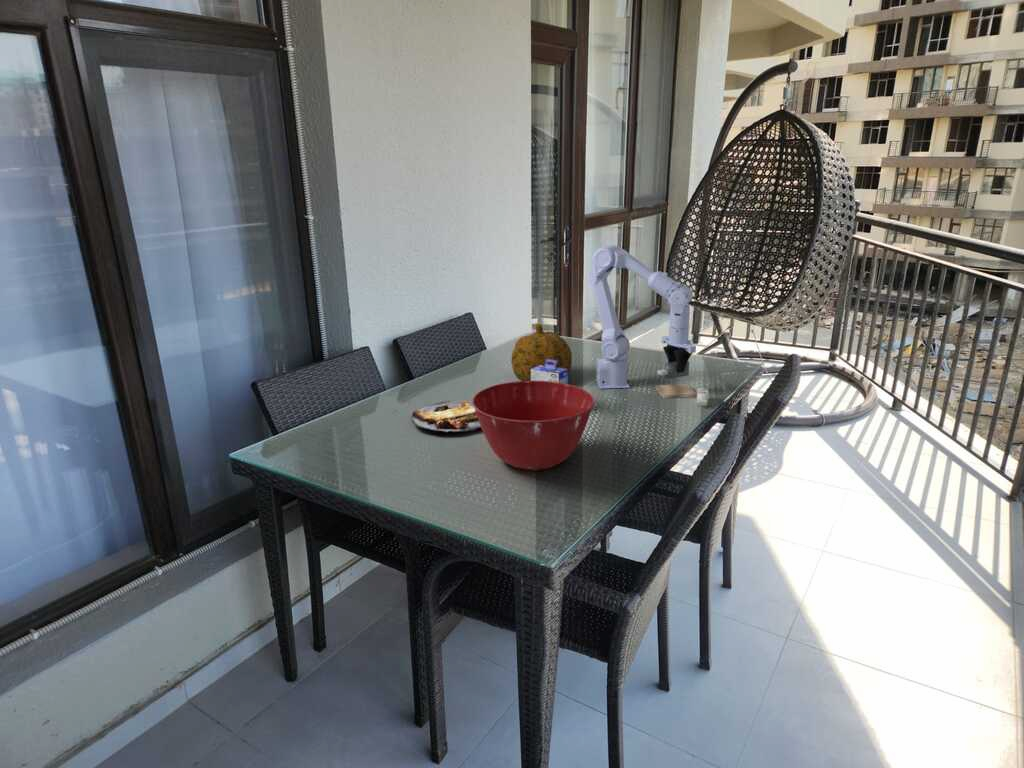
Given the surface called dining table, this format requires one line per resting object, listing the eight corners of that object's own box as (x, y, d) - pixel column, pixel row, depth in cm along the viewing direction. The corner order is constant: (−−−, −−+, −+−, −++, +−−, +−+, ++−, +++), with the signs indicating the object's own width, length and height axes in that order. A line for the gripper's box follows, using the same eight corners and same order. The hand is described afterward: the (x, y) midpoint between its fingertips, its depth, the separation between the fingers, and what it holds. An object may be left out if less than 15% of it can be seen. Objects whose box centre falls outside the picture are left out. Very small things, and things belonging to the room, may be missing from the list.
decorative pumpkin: (587, 375, 215) (582, 317, 208) (546, 396, 201) (540, 335, 195) (542, 367, 229) (536, 313, 222) (501, 386, 215) (493, 329, 208)
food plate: (432, 443, 165) (431, 430, 164) (399, 418, 184) (398, 406, 183) (515, 425, 177) (515, 413, 176) (476, 403, 196) (475, 392, 195)
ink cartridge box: (569, 408, 187) (569, 361, 183) (559, 414, 183) (558, 365, 179) (540, 403, 193) (539, 356, 188) (530, 408, 189) (529, 360, 184)
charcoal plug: (684, 372, 200) (685, 360, 198) (690, 375, 197) (691, 362, 196) (656, 377, 196) (656, 364, 195) (662, 379, 193) (662, 367, 192)
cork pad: (663, 398, 194) (664, 395, 193) (655, 388, 203) (655, 385, 203) (696, 397, 194) (696, 394, 194) (686, 387, 203) (687, 384, 203)
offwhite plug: (696, 398, 193) (696, 387, 192) (706, 399, 192) (707, 387, 191) (697, 408, 185) (698, 396, 183) (708, 409, 184) (709, 397, 183)
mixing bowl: (613, 450, 158) (615, 390, 153) (554, 496, 136) (554, 428, 131) (518, 428, 173) (516, 374, 169) (450, 467, 151) (447, 405, 146)
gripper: (705, 330, 187) (702, 374, 191) (675, 321, 200) (673, 363, 204) (685, 332, 185) (683, 378, 189) (656, 323, 198) (654, 366, 202)
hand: (676, 370), depth 196 cm, fingers closed on charcoal plug, 3 cm apart
